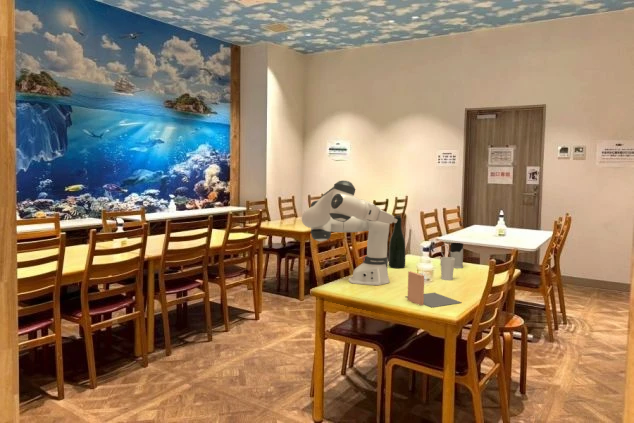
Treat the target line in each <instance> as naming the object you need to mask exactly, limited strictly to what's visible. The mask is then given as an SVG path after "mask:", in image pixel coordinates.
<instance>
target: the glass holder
mask: <svg viewBox="0 0 634 423" xmlns="http://www.w3.org/2000/svg"><path fill="white" fill-rule="evenodd" d="M443 246H445V247H446V248H447V252H448V253H449V257H451V258H455V262H454V269H464V266H463V265H464V261H463V260H464V243H461V242H451V243H450V250H449V247H448V245H446V244H443V245H442V246H441V247H440V253H441V255H442V257H445V256H444V253H443V250H442V248H443Z"/></svg>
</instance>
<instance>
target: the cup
mask: <svg viewBox="0 0 634 423" xmlns="http://www.w3.org/2000/svg"><path fill="white" fill-rule="evenodd" d="M454 262H455V258H451V257H450V256H444V257H443V256H442V257H440V271H441V272H440V274H441V275H440V276H441V278H440V279H441V280H443V281H453V280H454V278H453V277H454V269H455V268H454Z"/></svg>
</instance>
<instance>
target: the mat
mask: <svg viewBox="0 0 634 423" xmlns="http://www.w3.org/2000/svg"><path fill="white" fill-rule="evenodd" d="M404 297H405V298H406V297H407V298H406V299H408V295H407V296H404ZM458 304H462V301H458V300H456V299H453V298H451V297H447V296H445V295H442V294H439V293H436V292H429V293H427V292H426V293H424V303H423V306H426V307H429V308H432V307H433V308H438V307H446V306H451V305H458Z"/></svg>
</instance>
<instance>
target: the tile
mask: <svg viewBox="0 0 634 423" xmlns="http://www.w3.org/2000/svg"><path fill="white" fill-rule="evenodd" d="M407 274H408V275H407V296H408V298H407V301H408V300H409V302H411V303H413V302H414V303H413V304H416V305H418V304H419V305H418V306H424V304H423V303H424V294H425V275H424V274H421V273H417V272H415V271H411V270H410V271H408V273H407Z"/></svg>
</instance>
